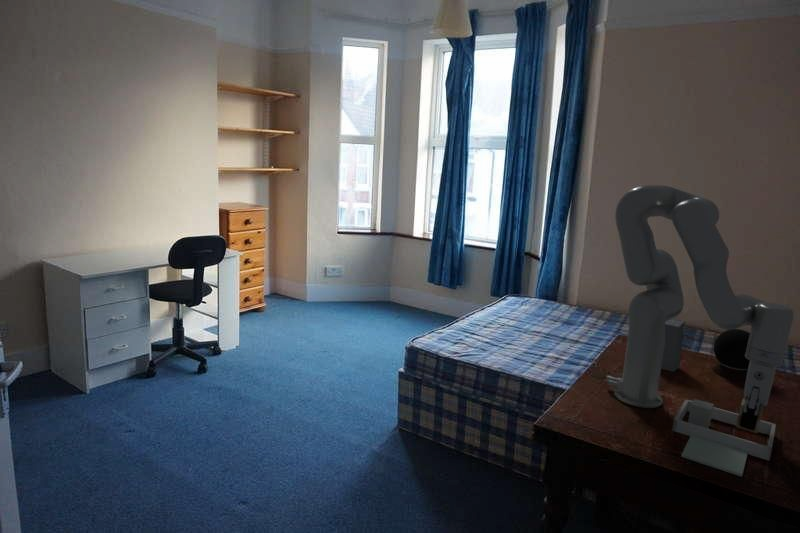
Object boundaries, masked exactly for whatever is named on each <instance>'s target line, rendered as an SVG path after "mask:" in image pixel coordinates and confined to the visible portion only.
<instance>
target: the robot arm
mask: <svg viewBox="0 0 800 533" xmlns="http://www.w3.org/2000/svg"><path fill="white" fill-rule="evenodd" d="M614 214H615V223H616V228H617V232H618V236H619V240H620V246H621V251H622V256H623V262H624V266H625V271H626V275H627V278H628V279H629V281H630V282H631V283H632V284H634V285H636V286H641V287H642V286H645V287H646V290H643V291H641V292H639V293H637V294H636V295H635V296H634V297H633V298H632V299H631V301H630V303H629V306H628V332H627V333H628V334H627V340H626V350H625V355H624V356H625V357H624V362H623V370H622V375H621V377H618V378H617V377H614V376H612V375H606V378H605V382H607V385H608V386H613V387H615V388H614V392H613V395H614V396H615V397H616V399H618V400H619V401H621V402H623V403H625V404H627V405H628V406H629V405H630V406H633V407H638V408H644V409H646V408H647V409H654V408H658V407H660V406H662V404H663V397H662V396H661V394H658V391H659V390H658V389H659V385H660V379H661V371H662V369H661V367H662V360H663V354H664V347H665V338H666V335H665V322H666V321H668V320H673V319H675V318H677V317H678V316H680V315H681V313H682V311H683V309H684V305H685V302H684V301H685V300H684V295H683V289H682V285H681V281H680V280H681V279H680V274H679V270H678V266H677V263H676V261H675V259H674V257H673V256H672V255H671V254H670V253H669V252H668V251H666V250H664V249H660V248H657V246H656V242H655V237H654V233H653V230H652V228H651V226H650V225H649V222H648V219H649V218H654V217H661V218H664V219H668V220H671V222H672V224H673V226H674V228H675V231H676V232H677V234H678V236H679V238H680V240H681V242H682V244H683V246H684V249H685V250H686V252H687V254H688V257H689V259H690V260H691V261H690V262H691V263H692V266H693V276H694V282H695V286H696V291H697V293H698V296H699V299H700V301H701V303H702V306H703V307H704V309H705V311H706V313H707V315H708V317H709V318H710V320H711V321H712V322H713V323H714V325H716V326H717V327H718V328H721V329H723V330H726V331H727V330H733V329H739V328H742V327H743V326H750V327H751V329H750V330H749V331H750V332H749V333H750V336H749V340H748V344H747V349H746V353H745V357H746V358H747V359H748V360H750V362H749V367H748V372H747V376H746V381H744V382H745V383H744V390H743V399H744V400H745V401H746V404H745V408H744V411H743V412H742V416H741V420H740V424H739V425H740V426H741V427H744V428H747V429H750V430H755V427H756V422H757V418H758V415H757V413H758V409H759V405H760V403H761V404H762V405H764V407H766V406H767V405H768V402H769V400H770V395H771V392H772V387H773V383H774V379H775V373H776V368H777V367H781V366H783V363H784V362H783V361H784V357H785V354H786V351H787V346H788V341H789V337H790V332H791V330H792V325H793V321H794V315H795V314H794V313H795V312H794V310H793V309H792V308H791V307H789V306H787V305H784V304H781V303H776V302H768V301H766V300H762V299H760V298H756V297H754V296H752V295H748V294H743V293H736V294H735V293H734V291H733V288H732V286H731V284H730V281H729V279H728V273H727V272H728V271H727V265H728V261H729V257H730V251H729V248H728V246H727V245H726V242H725V240H724V239H723V237H722V235H721V232H719V229H718V227H717V223H718V221H719V220H720V210H719V208H718V206H717V205H716V203H715V202H714V201H711V200H710V199H708V198H706V197H702V196H699V195H696V194H693V193H689V192H686V191H683V190H681V189H679V188H678V189H677V188H676V187H672V186H669V185H663V184H662V185H661V184H660V185H657V184H656V185H655V184H654V185H653V184H652V185H650V184H649V185H647V184H646V185H640V186H637V187H634V188H632V189H630V190H628V191H627V192H626V193H625V194H623V196H622V197H621V199H619V201H618V203H617V205H616V210H615V213H614ZM748 403H749V405H748ZM755 405H757V406H756V407H755ZM754 413H755V414H754Z"/></svg>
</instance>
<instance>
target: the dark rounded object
mask: <svg viewBox="0 0 800 533" xmlns="http://www.w3.org/2000/svg"><path fill="white" fill-rule="evenodd" d="M749 336H750V332H749V331H747V330H745V329H741V328H740V329H739V328H737V329H733V330H727V329H726V330H725V331H723V332H722V333H720V334H719V335H718V336H717V337H716V338H715V340H714V343H713V354H714V357H715V358H716V359H717V361H718V362H719V363H716V365H714V366H713V367H712V372H713V373H714V374H716V375H718V376H719V377H721V378H724V379H729V380H732V381H737V382H746V376H747V372H748V367H749V362H750V360H748V359H747V358H746V357H745V353H746V349H747V344H748V340H749Z"/></svg>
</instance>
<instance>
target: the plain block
mask: <svg viewBox="0 0 800 533" xmlns="http://www.w3.org/2000/svg"><path fill="white" fill-rule="evenodd" d="M692 401H693V402H692V404H691V408H690V412H689V414H688V420H687V422H688V423H691V424H695V425H698V426H701V427H705V428H708V429H710V426H711V420H712V418H711V416H712V410H713V407H714V403H710V402H708V401H704V400H700V399H696V398H693V400H692Z"/></svg>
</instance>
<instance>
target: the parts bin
mask: <svg viewBox="0 0 800 533" xmlns="http://www.w3.org/2000/svg"><path fill="white" fill-rule="evenodd" d="M692 402H693V400H690V399H687V398H686V399H685V400H684V402H683V403H682V405H681V407H680V408H679V410H678V412H677V413H676V415H675V417H674V419H673V422H672V428H671V431H672V432H675V433H679V434H681V435H685V436H688V437H690V436H691V435H694V436H698V437H701V438H704V439H707V440H710V441H714V442H717V443H720V444H723V445H727V446H730V447H733V448H736V449H740V450H743V451H746V452H748V454H747V455H749V456H752V457H756V458H759V459H762V460H766V461H768V462H770V459H771V455H772V449H773V444H774V440H775V439H774V437H775V434H776V428H777V427H776V426H777V424H776V423H773V422H770V421H765V420H762V419H761V420H760V424H759V428H758V432H757V433H761V434H763V435H768V436H769V438H768V443H767V445H764V444H762V443H757V442H754V441H751V440H748V439H744V438H741V437H738V436H735V435H732V434H727V433H724V432H721V431H718V430H716V429H715V430H714V429H711V428H709V429H708V428H705V427H701V426H698V425H695V424H691V423H688V421H684V420H683V419H684V416H685V415H686V413H687V412H689V413H690V408H691V404H692ZM738 415H739V413H736V412H733V411H731V410H726V409H722V408H718V407H716V406H713V410H712V416H711V420H712V419H713V420H716V421H719V422H722V423H725V424H729V425H733V426H736V424H737V419H738Z"/></svg>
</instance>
